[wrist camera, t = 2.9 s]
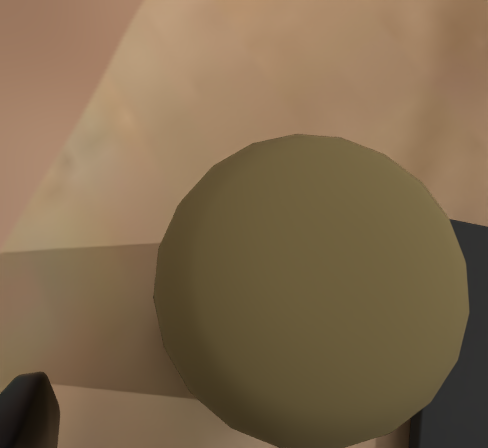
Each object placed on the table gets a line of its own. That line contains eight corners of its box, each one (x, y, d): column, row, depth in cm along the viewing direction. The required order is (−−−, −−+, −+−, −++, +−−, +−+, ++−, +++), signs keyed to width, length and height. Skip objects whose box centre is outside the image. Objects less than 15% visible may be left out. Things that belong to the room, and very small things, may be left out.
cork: (138, 310, 17) (14, 247, 6) (261, 206, 18) (333, 6, 7) (250, 444, 16) (329, 641, 5) (371, 324, 17) (629, 288, 7)
